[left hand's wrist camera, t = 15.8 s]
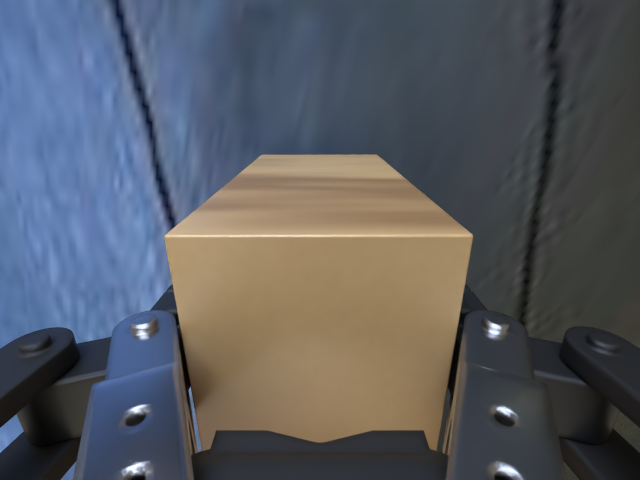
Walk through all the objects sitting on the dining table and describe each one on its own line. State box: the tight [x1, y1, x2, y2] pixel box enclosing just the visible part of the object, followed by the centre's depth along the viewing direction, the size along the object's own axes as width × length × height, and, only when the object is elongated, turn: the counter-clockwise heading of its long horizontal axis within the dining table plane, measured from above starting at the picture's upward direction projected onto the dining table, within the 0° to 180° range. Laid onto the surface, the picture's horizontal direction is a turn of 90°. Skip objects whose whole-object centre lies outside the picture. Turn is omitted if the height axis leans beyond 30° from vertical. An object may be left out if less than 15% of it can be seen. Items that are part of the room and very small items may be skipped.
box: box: [164, 155, 473, 451], centre depth 16 cm, size 24×6×12 cm, turn 0°
